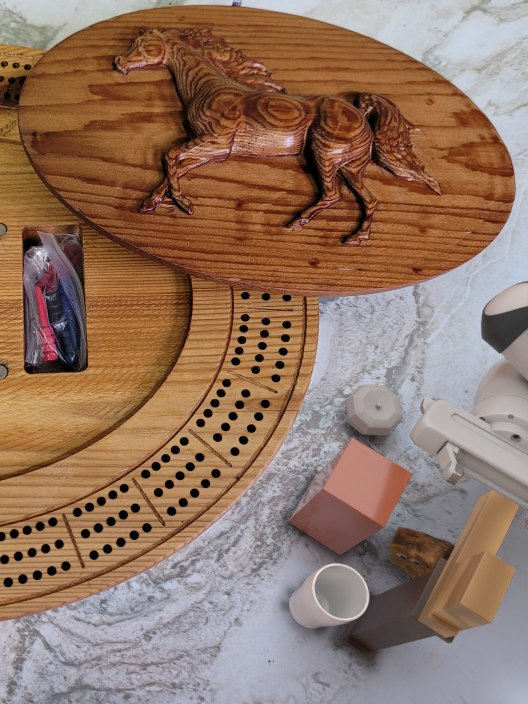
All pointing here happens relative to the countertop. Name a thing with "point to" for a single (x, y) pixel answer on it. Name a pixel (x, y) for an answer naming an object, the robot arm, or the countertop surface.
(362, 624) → the walnut shelf
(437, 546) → the brown rounded lump
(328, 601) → the white cup
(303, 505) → the terracotta block
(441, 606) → the tan stepped wooden block
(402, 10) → the countertop surface
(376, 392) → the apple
